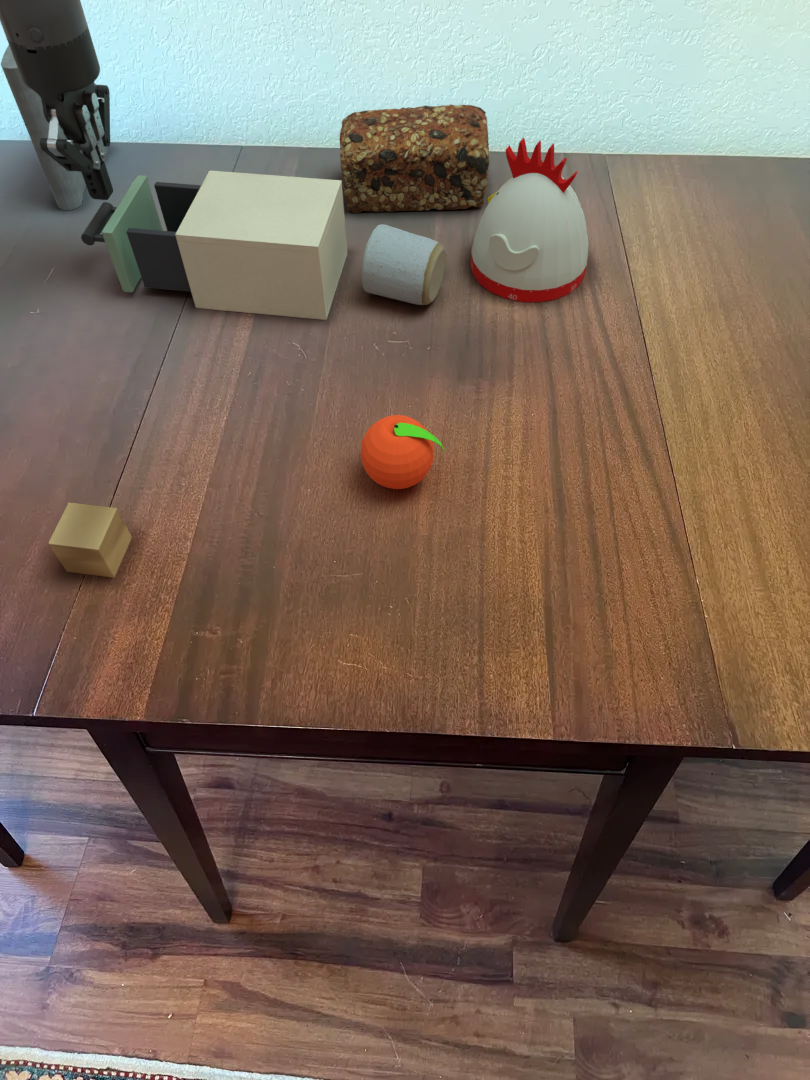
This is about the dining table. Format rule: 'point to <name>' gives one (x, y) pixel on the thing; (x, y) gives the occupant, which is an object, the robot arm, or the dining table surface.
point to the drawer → (145, 234)
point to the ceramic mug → (403, 265)
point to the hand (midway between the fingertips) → (102, 196)
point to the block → (90, 540)
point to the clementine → (397, 451)
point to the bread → (415, 158)
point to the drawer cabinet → (264, 244)
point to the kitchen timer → (531, 232)
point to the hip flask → (29, 103)
